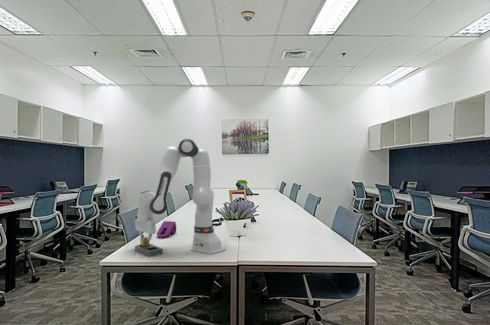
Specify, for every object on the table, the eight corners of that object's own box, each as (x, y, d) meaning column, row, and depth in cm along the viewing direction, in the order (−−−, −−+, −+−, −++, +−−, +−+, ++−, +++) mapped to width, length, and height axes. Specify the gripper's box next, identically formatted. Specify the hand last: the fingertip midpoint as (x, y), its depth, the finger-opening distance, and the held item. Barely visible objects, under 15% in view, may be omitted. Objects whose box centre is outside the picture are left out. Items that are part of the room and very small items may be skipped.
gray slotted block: (162, 253, 186) (162, 248, 186) (148, 256, 180) (148, 251, 180) (148, 247, 199) (148, 242, 199) (134, 250, 192) (134, 245, 192)
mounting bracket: (168, 245, 225) (177, 230, 241) (167, 236, 221) (175, 221, 237) (156, 245, 226) (165, 229, 242) (154, 236, 223) (163, 221, 239)
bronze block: (149, 250, 192) (149, 237, 192) (143, 251, 190) (143, 238, 190) (146, 249, 195) (146, 236, 195) (140, 250, 192) (140, 237, 193)
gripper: (158, 218, 187) (158, 240, 187) (142, 214, 202) (142, 235, 202) (148, 219, 183) (149, 242, 183) (133, 216, 197) (133, 237, 197)
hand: (145, 239), depth 192 cm, fingers open, 8 cm apart
